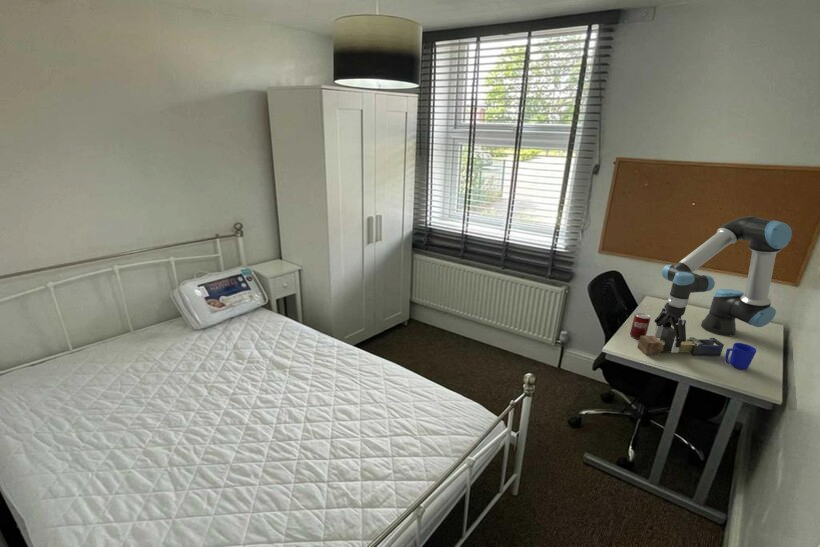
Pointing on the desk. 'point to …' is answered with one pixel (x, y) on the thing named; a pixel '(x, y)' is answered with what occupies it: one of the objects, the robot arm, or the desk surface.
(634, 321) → the soda can
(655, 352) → the socket
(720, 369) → the desk surface
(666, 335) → the hammer
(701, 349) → the sleeve
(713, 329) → the robot arm
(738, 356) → the mug
